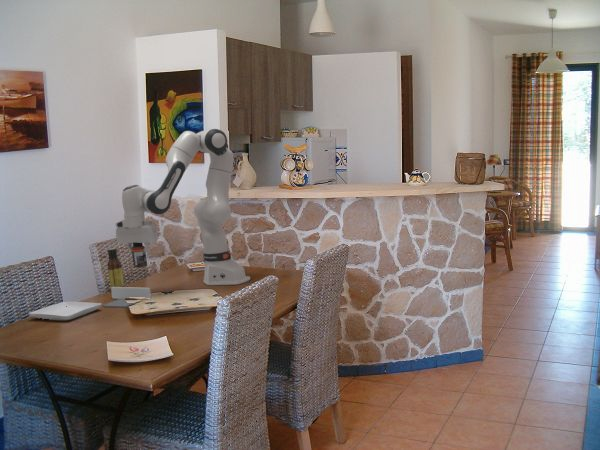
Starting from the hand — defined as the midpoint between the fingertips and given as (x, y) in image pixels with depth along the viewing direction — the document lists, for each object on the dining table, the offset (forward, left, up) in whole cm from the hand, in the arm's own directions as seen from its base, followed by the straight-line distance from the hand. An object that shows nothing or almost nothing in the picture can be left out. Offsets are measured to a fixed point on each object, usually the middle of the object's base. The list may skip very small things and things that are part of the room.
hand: (138, 252), depth 325 cm
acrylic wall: (+1, +7, -19) cm, 21 cm away
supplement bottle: (0, 0, -7) cm, 7 cm away
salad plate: (+12, +36, -20) cm, 43 cm away
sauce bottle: (+20, -8, -20) cm, 29 cm away
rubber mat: (-1, +16, -19) cm, 25 cm away
